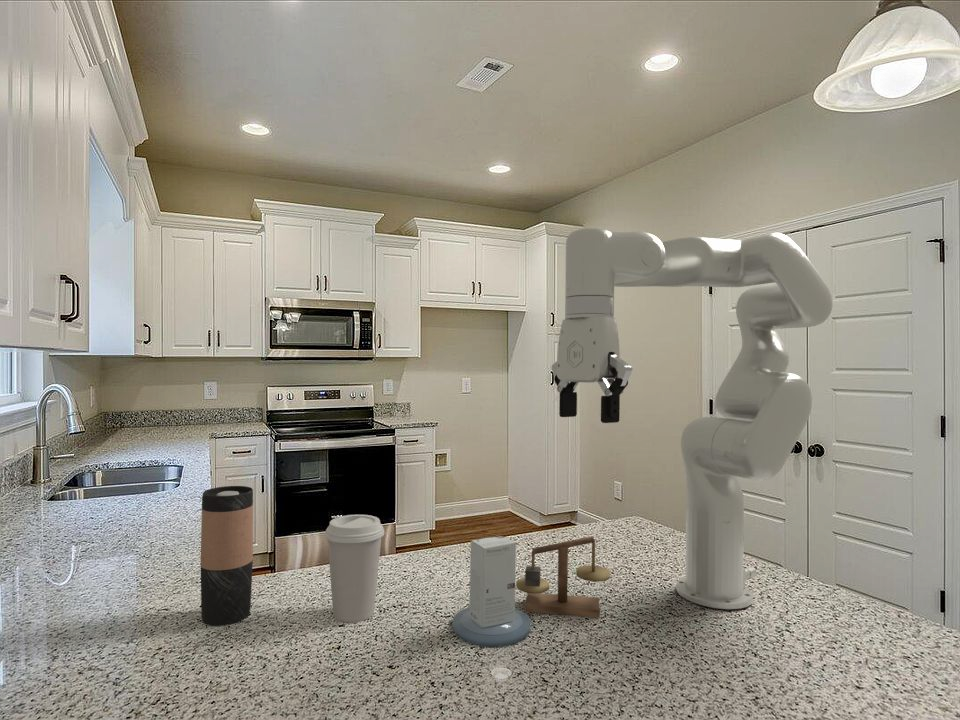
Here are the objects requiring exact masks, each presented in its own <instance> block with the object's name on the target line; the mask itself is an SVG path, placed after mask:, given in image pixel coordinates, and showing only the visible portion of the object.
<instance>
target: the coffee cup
mask: <svg viewBox="0 0 960 720" xmlns="http://www.w3.org/2000/svg"><path fill="white" fill-rule="evenodd" d="M384 535H385V528H384V526H383V525H382V523H381V520H380V518H379V517H377V516H373V515H370V514H369V515H368V514H347V515H341V516H337V517H335V518H333V519H331V520H330V521H329V525H328V526H327V528H326V530H325V531H324V538H325V539H326V541H327V546H328V547H327V549H328V562H329V563H328V565H329V575H330V576H329V577H330V590H331V600H332V601H331V603H332V615H333V618H334V620H336V619H337V620H336V621H338V620H339V622H341V621H344V622H343V623H359V622H363V621H366V620H368V619H369V618H371V617H373V615H374V614H375V609H376V608H375V606H376V597H377V585H378V575H379V574H378V573H379V565H380V553H381V545H382V537H384ZM358 621H359V622H358Z"/></svg>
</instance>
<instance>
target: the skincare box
mask: <svg viewBox="0 0 960 720" xmlns="http://www.w3.org/2000/svg"><path fill="white" fill-rule="evenodd" d="M516 548H517V545H516V542H515V541H513V540H511V539H509V538H507V537H506V536H503V535H502V536H501V535H500V536H494V537H484V538H480V539H473V540H472V539H471V540H470V557H469V558H470V561H469V562H470V564H469V565H470V569H469V575H470V576H469V607H470V612H469V617H470V618H471V619H472V620H473V621H474V622H475V623H476V624H477V625H478V626H480V627H481V628H485V627H489V626H494V625H499V624H503V623H507V622H511V621H513V620H514V619H515V609H516V608H515V607H516V606H515V605H516V554H517V552H516V550H517V549H516Z"/></svg>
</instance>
